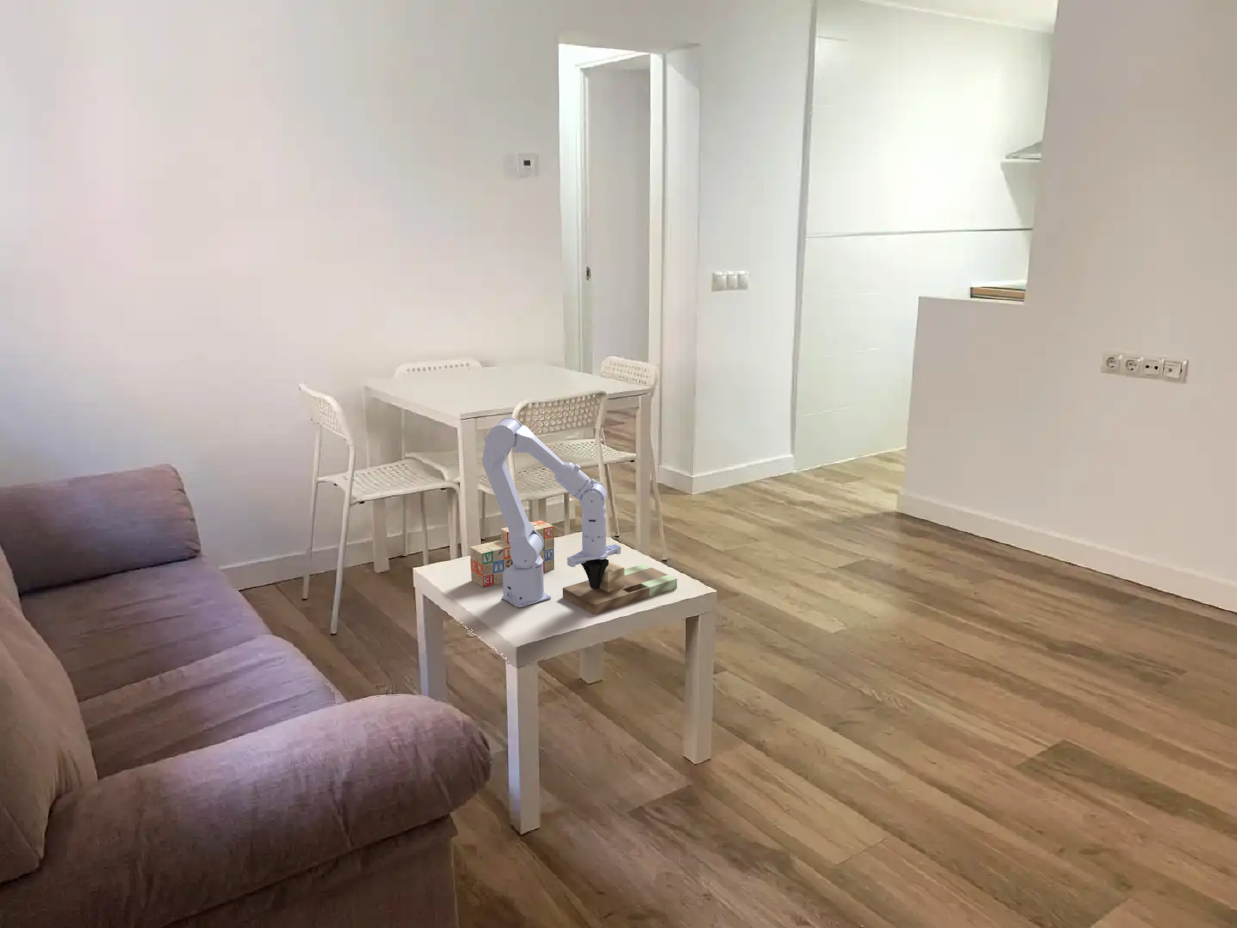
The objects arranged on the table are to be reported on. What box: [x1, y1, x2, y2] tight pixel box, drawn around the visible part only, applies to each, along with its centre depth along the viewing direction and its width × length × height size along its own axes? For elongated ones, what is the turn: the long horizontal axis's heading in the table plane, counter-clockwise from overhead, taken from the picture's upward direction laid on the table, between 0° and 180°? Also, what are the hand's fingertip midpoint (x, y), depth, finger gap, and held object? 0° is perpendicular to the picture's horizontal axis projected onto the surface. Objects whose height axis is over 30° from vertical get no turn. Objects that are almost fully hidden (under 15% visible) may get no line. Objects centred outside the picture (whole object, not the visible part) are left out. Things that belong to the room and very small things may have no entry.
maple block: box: [600, 561, 625, 592], centre depth 233 cm, size 5×5×5 cm
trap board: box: [562, 563, 678, 615], centre depth 236 cm, size 26×13×2 cm, turn 129°
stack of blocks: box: [469, 519, 555, 588], centre depth 247 cm, size 21×6×12 cm, turn 127°
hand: (594, 587), depth 231 cm, fingers closed
